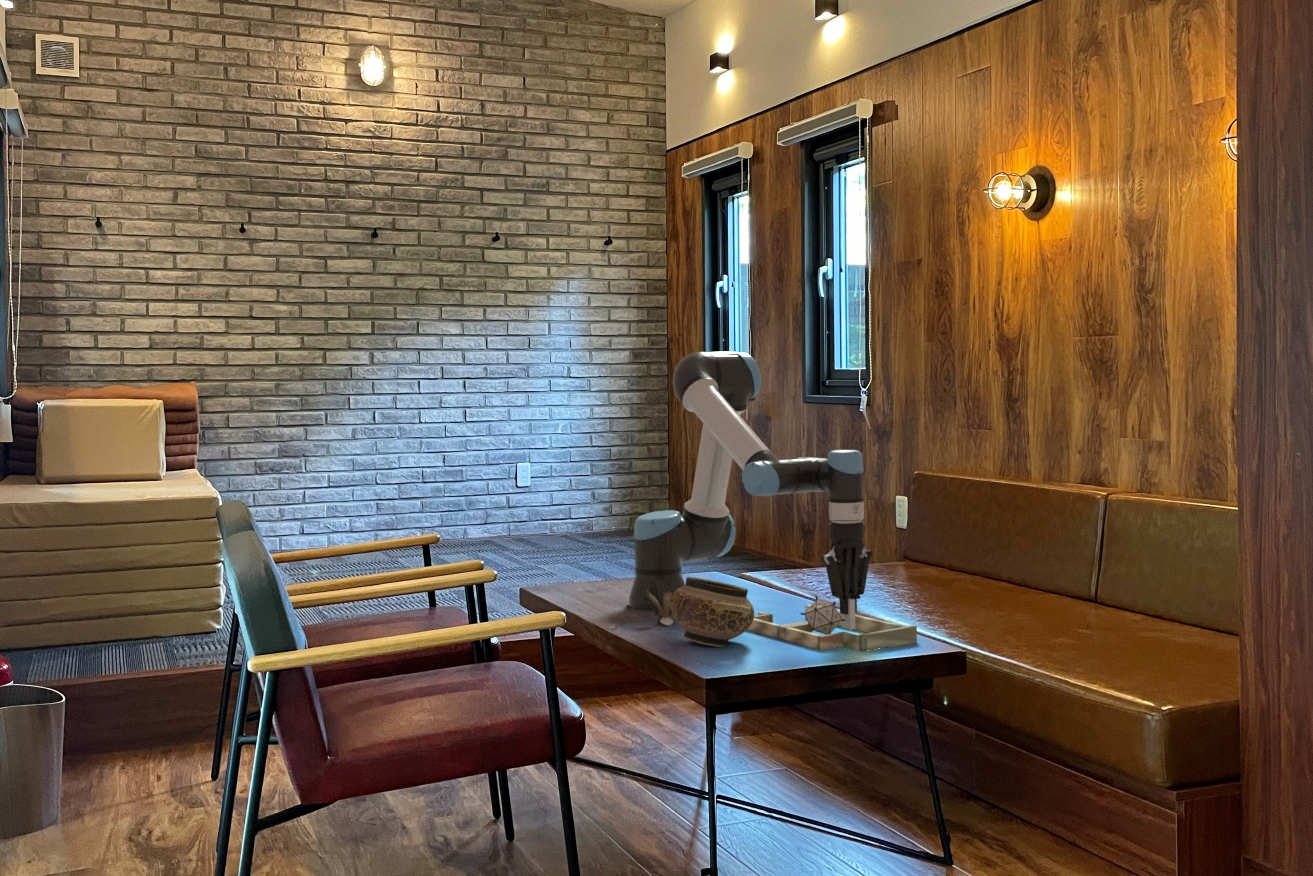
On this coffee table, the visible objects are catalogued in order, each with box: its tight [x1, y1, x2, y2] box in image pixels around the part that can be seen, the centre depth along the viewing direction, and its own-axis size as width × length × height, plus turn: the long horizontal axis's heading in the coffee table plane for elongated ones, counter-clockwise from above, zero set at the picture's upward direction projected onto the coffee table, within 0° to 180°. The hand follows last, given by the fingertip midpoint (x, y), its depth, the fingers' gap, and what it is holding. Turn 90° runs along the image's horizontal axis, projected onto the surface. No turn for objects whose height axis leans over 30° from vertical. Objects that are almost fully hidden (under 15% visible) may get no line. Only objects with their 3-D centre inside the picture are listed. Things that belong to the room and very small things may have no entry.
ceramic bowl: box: [671, 576, 755, 648], centre depth 259 cm, size 24×18×15 cm
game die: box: [799, 594, 846, 635], centre depth 266 cm, size 9×8×10 cm
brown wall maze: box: [746, 604, 918, 652], centre depth 268 cm, size 35×21×4 cm, turn 33°
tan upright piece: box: [646, 586, 676, 626], centre depth 281 cm, size 8×7×9 cm
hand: (848, 628), depth 266 cm, fingers closed
